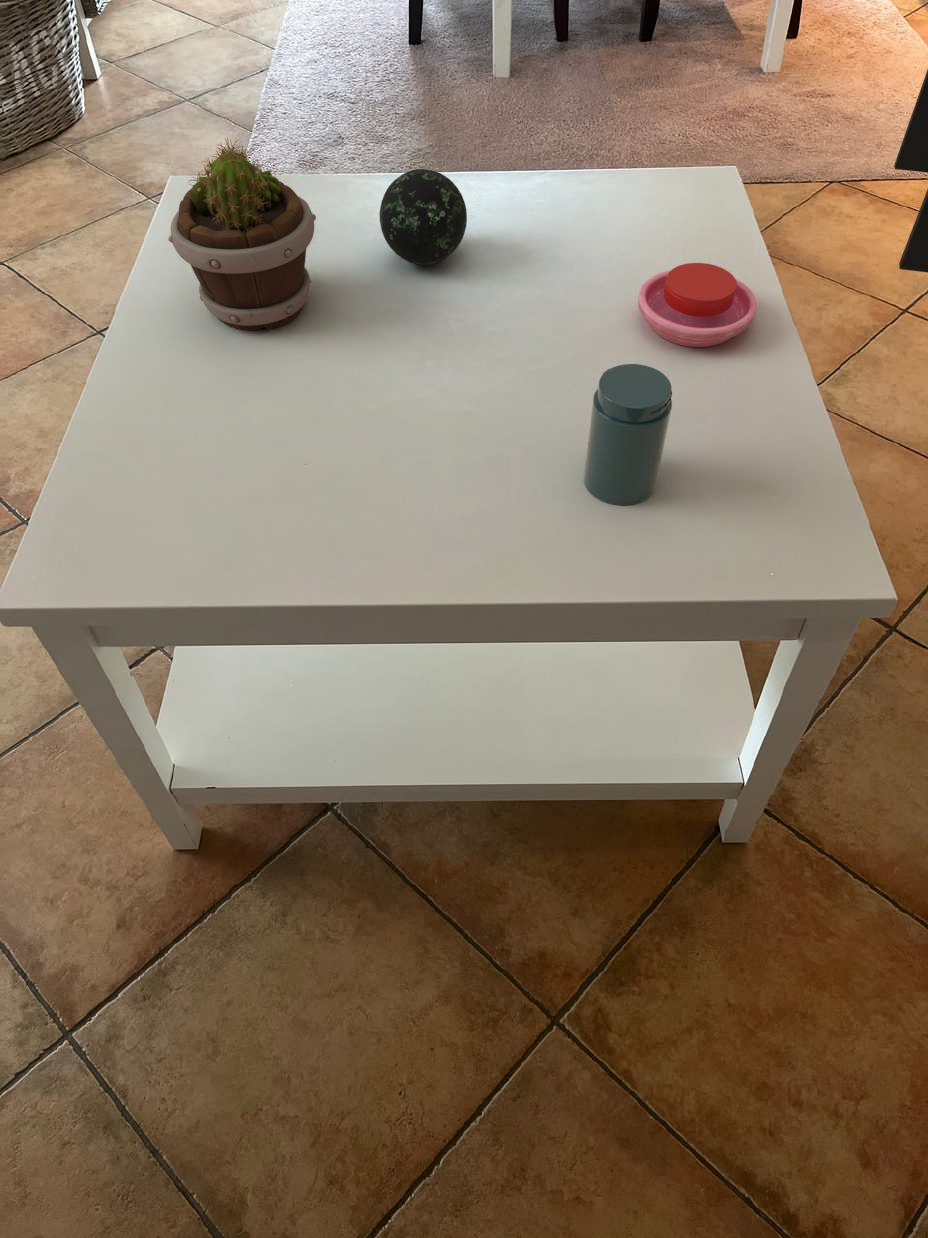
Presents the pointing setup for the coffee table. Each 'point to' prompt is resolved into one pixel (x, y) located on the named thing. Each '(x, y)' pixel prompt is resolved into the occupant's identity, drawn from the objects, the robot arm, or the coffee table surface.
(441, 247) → the decorative stone
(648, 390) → the lidded canister
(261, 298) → the flowerpot
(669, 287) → the jam lid
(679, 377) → the coffee table surface
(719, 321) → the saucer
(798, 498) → the coffee table surface
